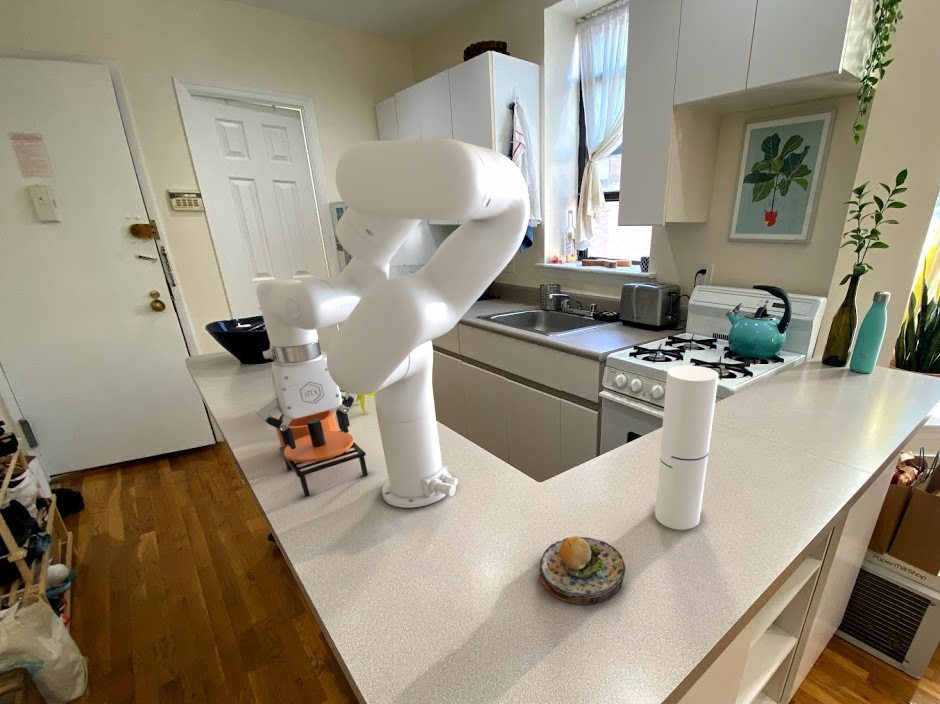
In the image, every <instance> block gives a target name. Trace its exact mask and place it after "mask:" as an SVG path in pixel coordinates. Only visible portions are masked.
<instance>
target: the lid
mask: <svg viewBox="0 0 940 704" xmlns="http://www.w3.org/2000/svg"><path fill="white" fill-rule="evenodd" d="M307 426H308V430H309V434H310V435H307V436H304V437H302V438H299V439H297V440H295V445H296V448H295V449H291V448H290V447H289V446H287V447H286V448H285V450H284V455H285V457H286V458H287V459H288V460H290V461H294V462H295V463H296V462H305V463H314V462H317V461H321V460H325V459H329V458H332V457H335V456H337V455H340V454H342V453H343V452H345V451H346V452H348V451H349V450H350V449H349V448H350V447H351V446H352V445H353V442H355V441H354V437H353V435H352V434H350V433H349V432H348V433H344V432H341V431H339V430H338V431H326V432H323V428H322V424H321V420H320V419H311V420H308V421H307Z"/></svg>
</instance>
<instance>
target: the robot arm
mask: <svg viewBox="0 0 940 704" xmlns="http://www.w3.org/2000/svg"><path fill="white" fill-rule="evenodd" d="M335 184H336V189H337V192H338V195H339V197H340V199H341V200H342V202H343V203H344V204H345V206H346V207H347V208H346V209H345V211H344V212H343V213H342V215H341V217H340V218H339V219H338V221H337V222H336V225H335V234H336V238H337V240H338V242H339V243H340V245H341V246H342V248H343V249H344V250H345V251H346V252H347V253H348V254H349V255H350V256H351V258H350V261H349V262H348V263H347V264H346V265H345V268H344V269H343V270H342V271H341V273H339V275H336V276H329V277H322V278H317V279H313V280H306V281H302V280H300V279H294V278H293V279H291V278H283V279H282V278H281V279H271V280H265V281H262V282H260V283H259V284H258V285H257V286H256V290H255V291H256V296H257V300H258V303H259V304H258V305H259V307H260V311H261V314H262V319H263V323H264V325H265V329H266V333H267V337H268V341H269V349H267V350H264V351H262V355H263V358H264V359H265V360H268V359H269V360H273V362H271V377H272V384H273V390H274V391H273V392H274V396H272V397H271V398H270V399H269V400H267V401H266V402H265V403H263V404H262V405H261V406H259V407H258V408H257V409H256V410H255V413H256V414H257V415H258V417H260V418H261V419H262V420H263V421H265V423H267V425H268V426H271V427H273V428H275V429H276V428H278V429H280V432H281V436H282V439H283V442H284V444H285V445H288V446H289V447H290V448H291V449H295V448H296V445H295V441H294V437H293V434H292V430H291V429H290V428H289V427H288V426H289V424H290V423H291V421H292V419H298V418H302V417H306V416H310V415H314V414H318V413H321V412H325V411H328V410H335V409H336V410H335V415H336V416H335V417H336V421H337V424H338V425H337V426H338V428H339V430H342V431H343V432H344V433H349V427H351V426H350V418H349V415H348V413H349V412H350V408H351V407H352V405H353V404H354V402H355V398H356V396H357V395H367V394H371V393H374V392H376V393H375V397H374V403H375V411H376V417H377V423H378V429H379V434H380V440H381V444H382V445H381V446H382V450H383V454H384V460H385V461H384V462H385V465H386V472H387V477H388V479H387V480H386V481H385V482H384V483H383V485H382V488H381V494H382V498H383V500H384V502H386V503H387V504H388V505H391V506H393V507H397V508H402V509H404V508H405V509H413V508H421V507H424V506H428V505H432V504H434V503H436V502H438V501H440V500H441V499H444V498H445V497H446V496H449V497H453V496H454V495H455V494H456V492H457V487H456V486H458V485H459V479H458V478H457V477H452V475H451V474H450V472H448V467H447V466H446V465H443V463H442V454H441V447H440V440H439V431H438V423H437V416H436V406H435V397H434V389H433V368H434V367H433V366H434V365H433V364H434V348H433V347H434V346H433V342H432V341H433V340H435V339H438V338H440V337H442V336H443V335H445V334H447V333H448V332H450V331H451V330H453V328H454V327H455V326H456V325H457V324H458V322H460V320H461V319H462V318H463V316H464V315H465V314H466V313H467V312H468V311H469V309H470V308H471V307H472V306H473V305H474V304H475V303H476V302H477V301H478V299H479V298H481V296H483V294H484V292H485V291H486V290H487V289H488V288H489V286H491V284H492V283H493V282H494V280H496V279H497V277H498V276H499V275H500V274H501V273H502V272H503V271H504V269H505V268H506V267H507V265H508V264H509V263H510V262H511V260H512V259H513V258H514V256H515V255H516V254H517V252H518V251H519V249H520V247H521V245H522V242H523V240H524V238H525V235H526V233H527V230H528V227H529V226H528V225H529V219H530V198H529V192H528V188H527V184H526V182H525V178H524V177H523V174H522V173H521V171H520V169H519V168H518V166H517V164H515V162H513V161H512V160H511V159H510V158H509V157H508V156H506V155H505V154H503V153H501V152H499V151H497V150H494V149H491V148H487V147H485V146H480V145H476V144H473V143H470V142H469V143H468V142H465V141H462V140H458V139H453V138H446V137H432V138H431V137H429V138H427V137H426V138H412V139H411V138H410V139H395V140H394V139H393V140H364V141H360V142H357V143H354V144H353V145H351V146H350V147H348V148H347V149H346V150H345V151H344V152H343V153H342V155H341V156H340V157H339V160H338V162H337V165H336V169H335ZM422 220H428V221H429V220H430V221H431V220H432V221H434V220H435V221H463V222H462V223H461V224H460V225H459V226H458V227H457V228H456V229H455V230H454V231H453V232H451V233H450V234H449V235H448V236H447V237H446V238H445V239H444V240H443V241H442V243H440V245H438V247H437V250H436V251H435V252H434V253H433V255H432V256H430V258H429V259H428V260H427V261H426V262H425V264H424V265H422V267H420V268H419V270H416V271H414V272H412V273H409V274H405V275H400V276H395V277H390V278H389V275H390V262H391V260H392V259H393V257H394V256H395V255H396V253H397V252H398V251H399V250H400V248H401V247H402V246H403V244H404V243H405V242H406V240H407V239H408V238H409V236H411V234H412V233H413V231H414V230H415V229H416V228H417V227H418V225H419V224H420V223H421V221H422ZM339 323H342V325H341V326H340V327H339V329H338V330H337V332H336V333H335V334H334V336H333V338H332V339H331V341H330V343H329V346H328V348H327V352H326V354H324V353H322V349H321V344H320V340H319V336H318V332H317V330H320V329H324V328H326V327H330V326H333V325H335V324H336V325H337V324H339ZM340 390H341V391H346V392H347V394H346V395H345V396H344V397H345V398H344V399H342V397H341V395H342V392H340ZM346 392H345V393H346ZM276 407H277V408H278V410H279V412H280V414H279V416H278V417H277V418H278V419H277V418H276V417H273V416H272V415H270V412H271V411H272V410H274V409H275V408H276Z"/></svg>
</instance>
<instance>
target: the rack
mask: <svg viewBox="0 0 940 704" xmlns="http://www.w3.org/2000/svg"><path fill="white" fill-rule="evenodd" d="M338 431H341V432H343V431H342V430H340V429H338ZM287 446H288V445H286V446H283V447H281V446H280V447H278V449H279V452H280V453H281V454H282V456H283V457H282V458H283V460H284V463H285V468H286V470H287V471H288V472H289V471H292V470H293V472H294V473H295V475H296V477H297V478H298V479H299V481H300V485H301V489H302V493H303V496H304V497H305V498H306V497H309V496H310V495H311V494H310V490H309V487H308V483H307V482H308V481H307V479H306V476H307V475H309V474H312V473H315V472H318V471H322V470H326V469H328V468H331V467H334V466H337V465H340V464H343V463H346V462H347V463H348V462H350V461H353V460H356V459H358V461H359V465H360V466H359V467H360V470H361V474H362V476H363V477H367V476H368V475H369V474H368V468H367V464H366V459H365V457H366V456H367V454H366V451H364V450H363V449H362V448H361V447H360V446H359V445H358V444H357V443H356V442H355V441H354V442H353V445H352V446H351V447H350V448H349V449H348V451H345V452H343V453H342V454H339V455H337V456H335V457H332V458H329V459H325V460H321V461H315V462H310V463H308V464H305V463H306V462H294V461H290V460H288V459H287V458H286V457H285V455H284V450H285V448H286V447H287ZM350 449H353V450H350ZM349 450H350V451H349ZM338 458H339V459H338ZM328 461H329V462H328ZM301 464H305V465H301ZM298 465H301V466H298ZM316 465H317V466H316ZM310 467H311V468H310ZM306 468H307V469H306ZM303 469H304V470H303Z"/></svg>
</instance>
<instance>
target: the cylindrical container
mask: <svg viewBox="0 0 940 704" xmlns="http://www.w3.org/2000/svg"><path fill="white" fill-rule="evenodd" d="M718 383H719V372H717V371H716V370H714V369H712V368H710V367H706V366H701V365H700V366H698V365H689V364H687V365H676V366H672V367H670V368H668V369H667V371H666V381H665V391H664V392H665V393H664V404H663V405H664V406H663V416H662V428H661V429H662V430H661V439H660V440H661V441H660V454H659V464H658V475H657V485H656V487H657V488H656V497H655V499H656V500H655V511H654V516H655V518H656V520H657V521H658V523H659V524H661V525H663V526H665V527H667V528H669V529H673V530H677V531H678V530H679V531H685V530H690V529H693V528H695V527H696V526H698V524H699V523H700V518H701V512H702V511H701V510H702V505H703V504H702V503H703V498H704V497H703V495H704V489H705V483H706V482H705V480H706V473H707V466H708V459H709V453H710V443H711V435H712V429H713V428H712V427H713V420H714V413H715V406H716V399H717V398H716V397H717V391H718Z"/></svg>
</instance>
